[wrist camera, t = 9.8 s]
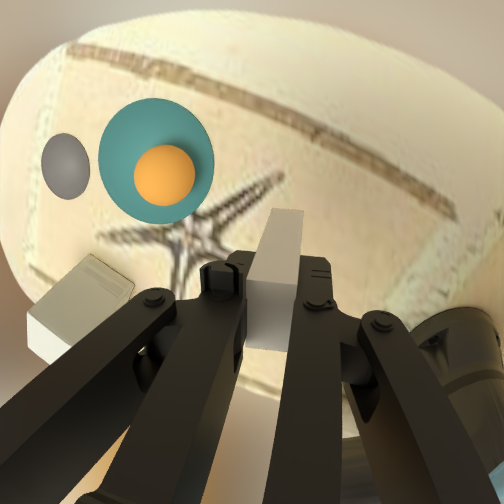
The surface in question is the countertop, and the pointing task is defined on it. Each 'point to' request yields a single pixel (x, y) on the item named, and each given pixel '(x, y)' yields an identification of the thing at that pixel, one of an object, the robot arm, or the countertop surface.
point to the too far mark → (65, 166)
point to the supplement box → (75, 307)
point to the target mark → (141, 140)
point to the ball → (164, 175)
